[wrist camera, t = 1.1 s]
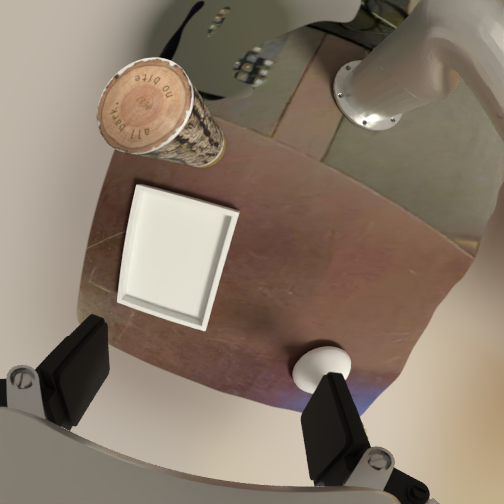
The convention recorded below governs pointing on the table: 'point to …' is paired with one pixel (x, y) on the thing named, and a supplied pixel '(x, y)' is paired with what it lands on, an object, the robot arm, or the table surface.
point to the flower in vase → (320, 367)
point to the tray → (174, 255)
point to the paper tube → (159, 115)
